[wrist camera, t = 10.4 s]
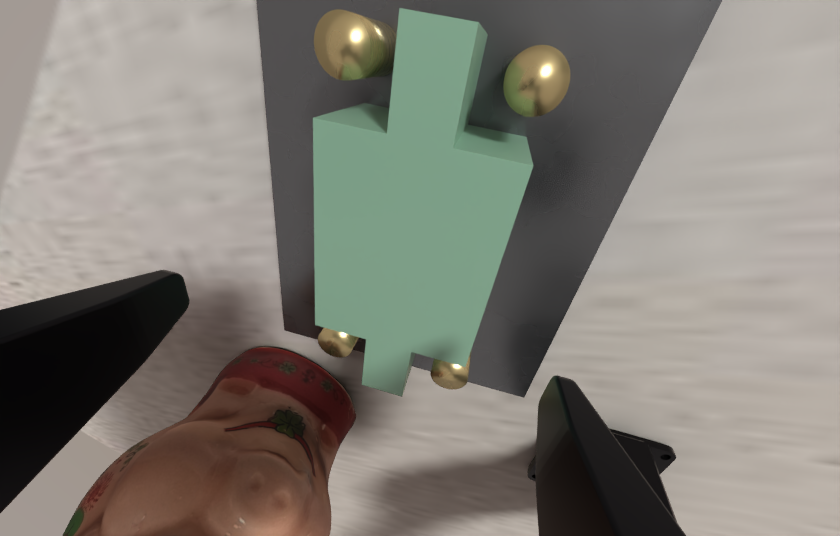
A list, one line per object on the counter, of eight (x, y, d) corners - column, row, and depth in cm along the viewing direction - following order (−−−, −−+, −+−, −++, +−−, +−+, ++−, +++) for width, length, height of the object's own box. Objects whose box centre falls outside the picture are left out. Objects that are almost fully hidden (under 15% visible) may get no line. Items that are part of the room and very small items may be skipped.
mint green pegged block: (554, 46, 11) (576, 39, 7) (461, 344, 18) (450, 411, 14) (370, 13, 11) (311, -9, 8) (350, 314, 18) (315, 371, 15)
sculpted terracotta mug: (313, 485, 32) (202, 728, 20) (195, 421, 31) (3, 642, 19) (423, 376, 21) (320, 759, 10) (248, 271, 20) (-118, 565, 8)
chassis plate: (718, -29, 10) (833, -79, 6) (523, 380, 20) (526, 450, 16) (270, -94, 11) (163, -164, 8) (295, 317, 21) (252, 368, 17)
